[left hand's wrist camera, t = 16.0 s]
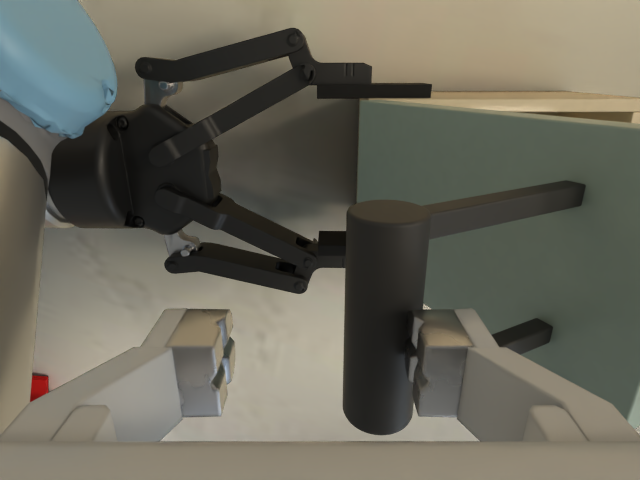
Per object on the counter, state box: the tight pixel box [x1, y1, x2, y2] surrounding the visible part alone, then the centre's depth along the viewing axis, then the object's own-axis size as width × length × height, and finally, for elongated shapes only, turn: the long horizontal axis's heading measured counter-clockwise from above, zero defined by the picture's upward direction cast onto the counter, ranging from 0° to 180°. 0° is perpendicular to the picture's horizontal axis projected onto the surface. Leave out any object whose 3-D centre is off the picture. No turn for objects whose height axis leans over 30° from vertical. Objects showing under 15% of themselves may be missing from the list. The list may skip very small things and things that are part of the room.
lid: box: [343, 100, 640, 435], centre depth 17 cm, size 16×9×9 cm
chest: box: [356, 91, 640, 203], centre depth 30 cm, size 15×9×9 cm, turn 90°
